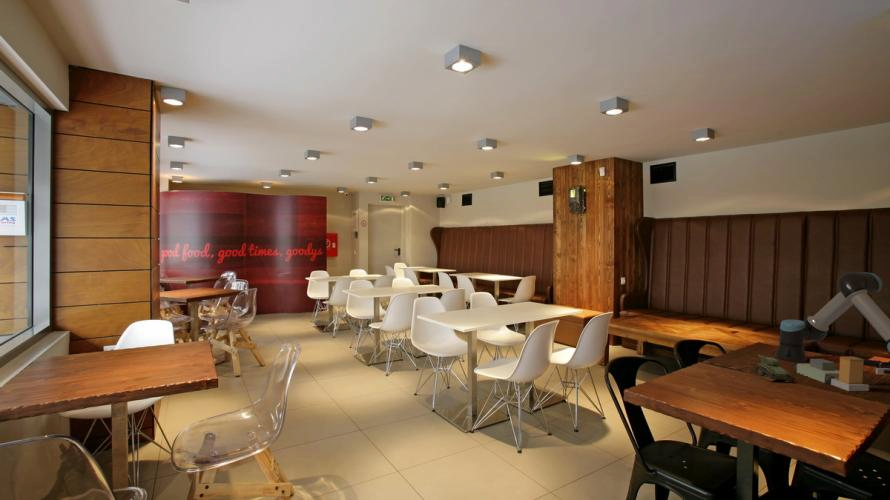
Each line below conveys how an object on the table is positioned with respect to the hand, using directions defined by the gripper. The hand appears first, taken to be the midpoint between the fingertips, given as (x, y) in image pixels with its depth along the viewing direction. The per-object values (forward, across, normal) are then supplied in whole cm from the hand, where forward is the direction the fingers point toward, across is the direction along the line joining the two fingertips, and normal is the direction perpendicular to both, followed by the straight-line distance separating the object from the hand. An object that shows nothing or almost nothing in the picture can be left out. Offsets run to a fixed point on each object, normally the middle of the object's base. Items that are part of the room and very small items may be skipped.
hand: (862, 366), depth 215 cm
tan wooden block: (+6, 0, -10) cm, 12 cm away
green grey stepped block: (+6, +10, -11) cm, 16 cm away
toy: (+35, +16, -11) cm, 40 cm away
